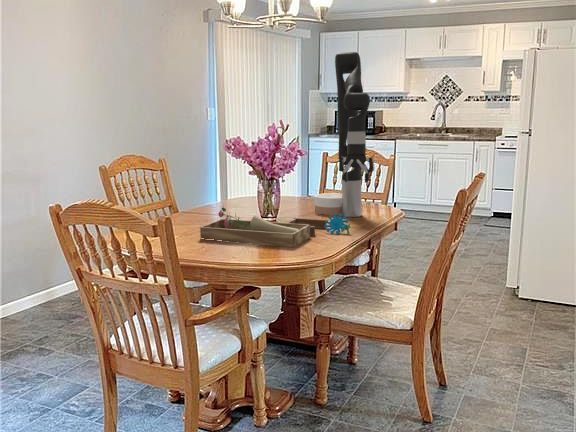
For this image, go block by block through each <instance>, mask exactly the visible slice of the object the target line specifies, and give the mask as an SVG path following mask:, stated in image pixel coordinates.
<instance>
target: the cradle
mask: <svg viewBox="0 0 576 432" xmlns="http://www.w3.org/2000/svg"><path fill="white" fill-rule="evenodd" d="M326 220H327V219H319V218H318V219H317V218H304V217H293V218H292V219H289V220H288V221H286V222H285V223H293V224H308V225H310V236H315V235H316V229H326V228H325V227H324V226H325V224H327V223H325V221H326Z"/></svg>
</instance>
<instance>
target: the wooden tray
mask: <svg viewBox="0 0 576 432" xmlns="http://www.w3.org/2000/svg"><path fill="white" fill-rule="evenodd" d="M225 219H226V218H220V219H217V220H215V221H213V222H209V223H206V224H204V225H202V226H200V227H199V229H200V230H199V231H200V233H199V234H200V239H201V238H204V239H214V240H222V241H221V242H223V241H229V242H228V243H235V242H239V244H247V243H252V244H251V245H259V244H262V245H263V246H271V247H287V248H293V247H296V246H299V245H300V244H302V243H303V242H305V241H306V240H308V239H310V238H311V235H310V225H308V224H293V223H286V222H275V221H269V222H270V223H273V224H277V225H281V226H285V227H290V228H296V229H299V230H298V231H296V232H294V233H278V232H268V231H259V230H251V227H250V225H249V224H250V222H251V220H244V219H239V220H240V221H238V220H237V219H233V218H231V221H233V222H236V220H237V222H236V223H234V224H233V223H232V225H231V228H230V229H227V228H225V226H224V220H225ZM242 220H243V221H244V222H245V223H247V225H246V226H247V227H244V230H242V229H243V227H241V226H244V224H241V223H244V222H241V221H242ZM240 222H241V223H240ZM238 225H239V228H237V229H235V228H236V226H238ZM246 228H247V229H246Z"/></svg>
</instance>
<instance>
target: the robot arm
mask: <svg viewBox="0 0 576 432" xmlns="http://www.w3.org/2000/svg"><path fill="white" fill-rule="evenodd" d="M361 63H362V62H361V56H360V54H359V52H357V51H348V52H346V51H345V52H337V53H336V54H335V57H334V67H335V76H336V91H337V93H336V94H337V119H338V120H337V121H338V161H339V163H338V171H339V172H341V173H342V174H341V193H342V217H343V216H346V218H357V217H359V218H360V217H361V216H362V172H364V183H366V184H367V183H368V182H369V181H370V173H372V172H374V171H375V166H374V157H373V156H370V157H367V156H366V149H367V147H366V146H367V139H366V138H367V137H366V136H367V135H366V118H367V113H368V111H369V107H370V103H371V102H370V101H371V99H370V96H369V94H368V93H367V92H364V87H363V84H362V64H361ZM346 74H349V75H348V76H347V77H346V79H344V75H346ZM359 111H360V112H359ZM366 162H367V163H368V165H369V168H368V166H367V165H366ZM351 168H352V169H351ZM350 169H351V170H350ZM362 170H363V171H362Z"/></svg>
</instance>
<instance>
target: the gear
mask: <svg viewBox="0 0 576 432" xmlns="http://www.w3.org/2000/svg"><path fill="white" fill-rule="evenodd" d="M325 220H326V221H325V223H326V224H325V226H324V227H325V228H324V229H326V233H329V232H330V234H331V235H334V234H336V235H339V234H340V232H341V233H343V232H345V231H346V232H347V233H350V231H349V229H350V228H351V224H350V223H349V220H348V219H347V217H346V216H342V214H339V215H337V214H334V215H333V217H332V215H328V219H325Z"/></svg>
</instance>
